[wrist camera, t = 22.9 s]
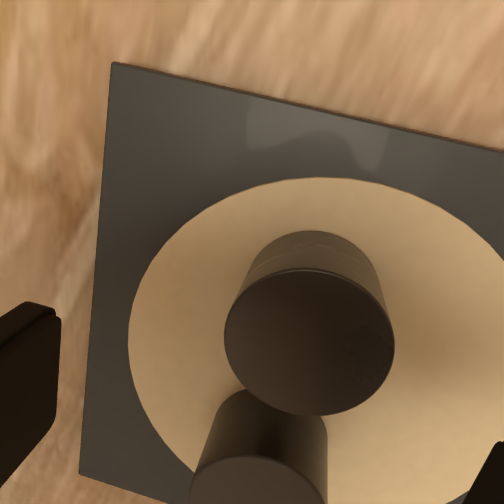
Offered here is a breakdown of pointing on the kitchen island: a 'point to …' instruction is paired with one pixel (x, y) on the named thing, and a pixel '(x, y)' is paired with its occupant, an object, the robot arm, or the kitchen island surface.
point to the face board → (240, 260)
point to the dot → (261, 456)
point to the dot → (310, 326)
